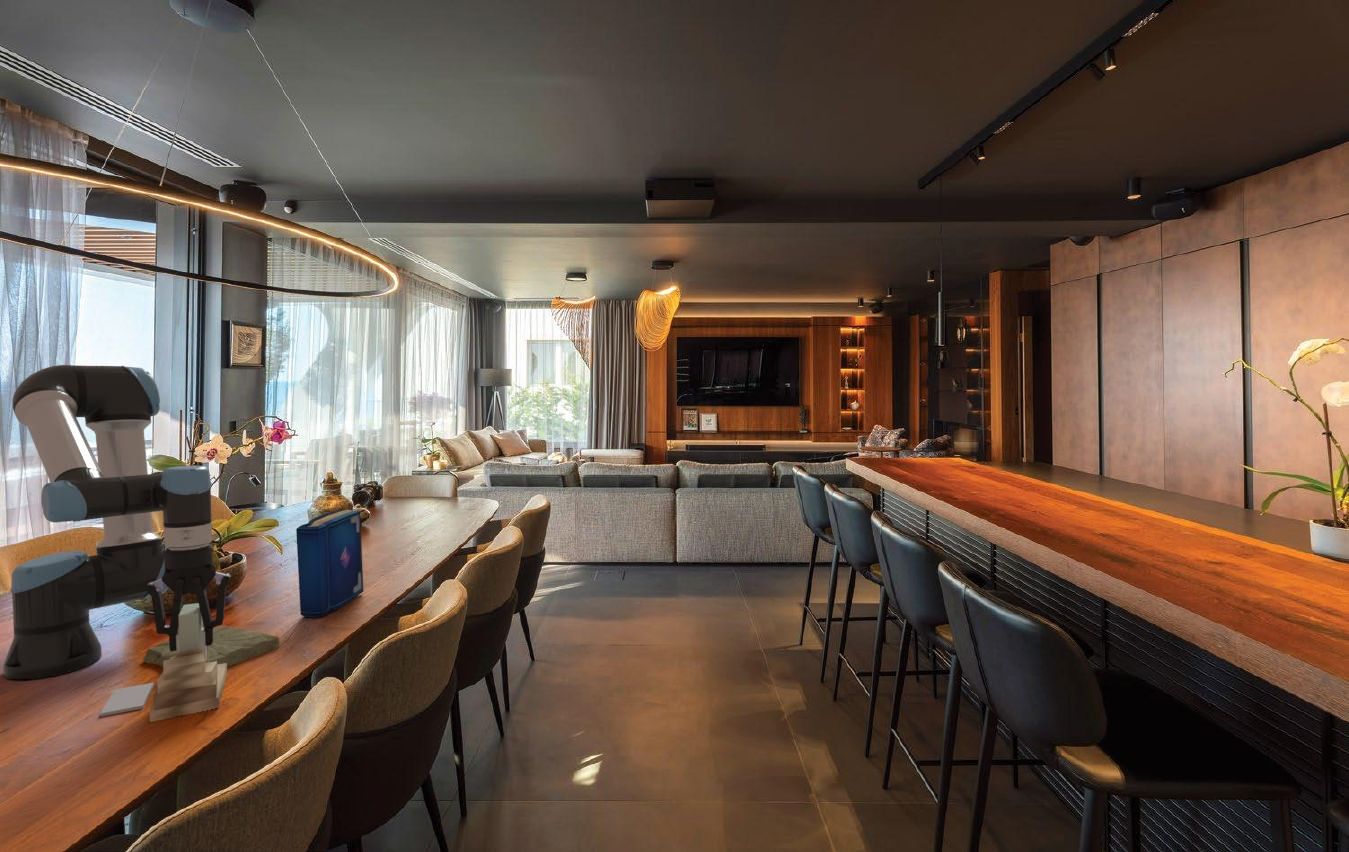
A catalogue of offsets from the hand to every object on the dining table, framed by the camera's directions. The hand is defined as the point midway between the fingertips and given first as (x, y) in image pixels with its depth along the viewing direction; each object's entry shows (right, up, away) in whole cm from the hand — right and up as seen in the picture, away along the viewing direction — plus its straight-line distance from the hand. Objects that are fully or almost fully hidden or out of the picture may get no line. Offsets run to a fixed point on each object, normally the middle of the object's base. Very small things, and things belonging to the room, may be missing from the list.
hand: (192, 663), depth 128 cm
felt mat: (-8, -5, -5) cm, 11 cm away
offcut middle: (+5, -1, -8) cm, 10 cm away
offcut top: (+5, +2, -9) cm, 10 cm away
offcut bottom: (+5, -3, -8) cm, 10 cm away
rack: (+2, -5, -3) cm, 6 cm away
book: (+1, -3, +49) cm, 50 cm away
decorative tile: (-8, -5, +16) cm, 19 cm away
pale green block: (0, -1, 0) cm, 1 cm away
